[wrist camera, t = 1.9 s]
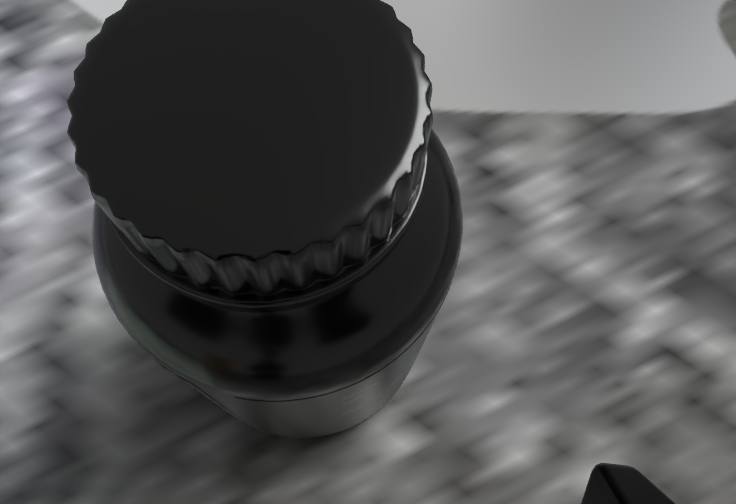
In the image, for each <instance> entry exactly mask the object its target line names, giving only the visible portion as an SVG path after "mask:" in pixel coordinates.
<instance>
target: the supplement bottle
mask: <svg viewBox="0 0 736 504" xmlns="http://www.w3.org/2000/svg"><path fill="white" fill-rule="evenodd" d="M424 70H425V57H424V54H423V53H422V52H421V51H420V50H419V49H418V48H417V46H416V45H415V44H414V43H413V37H412V33H411V29H410V28H409V27H407V26H406V25H405V24H403V23H402V22H401V21H399V20H398V19H397V17H396V14H395V11H394V9H393V7H392V6H390V5H388V4H387V3H384V2H382V1H380V0H127V1H126V2H125V4H124V6H123V7H122V9H121V10H119V11H118V12H116V13H115V14H112V15H111V16H109V17H108V18H106V19H105V22H104V24H103V26H102V29H101V32H100V33H99V34H98V35H96V36H95V37H94V38H93V39H92V40H91V41H90V42H88V43H87V46H86V55H85V58H84V60H83V61H82V62H81V63H80V64H79V66H78V67H77V68H76V69H75V71H74V80H75V87H74V89H73V91H72V93H71V94H70V96H69V99H68V101H67V104H68V107H69V110H70V112H71V115H72V117H71V120H70V123H69V127H68V132H67V133H68V136H69V138H70V140H71V142H72V143H73V145H74V146H75V148H76V152H75V164H76V166H77V169H78V171H79V172H80V173H81V175H82V176H83V177H84V178H85V180H86V181H87V182H88V183H89V186H90V190H91V194H92V196H93V198H94V200H95V203H94V210H93V219H92V243H93V254H94V259H95V264H96V269H97V273H98V276H99V279H100V282H101V285H102V288H103V291H104V293H105V295H106V298H107V300H108V302H109V304H110V306H111V308H112V310H113V311H114V313H115V315H116V316H117V318H118V320H119V321H120V322H121V324H122V325H123V326H124V328H125V329H126V330H127V332H128V333H129V334H130V335H131V337H132V338H133V339H134V340H135V341H136V342H137V343H138V344H139V345H140V346H141V347H142V348H143V349H144V350H145V351H146V352H147V353H148V354H149V355H150V356H151V357H152V358H154V359H155V360H156V361H157V362H158V363H159V364H161V365H162V366H163V367H164V368H166V369H167V370H168V371H170V372H171V373H173V374H174V375H175V376H177V377H178V378H180V379H181V380H182V381H184V382H185V383H187V384H188V385H189V386H191V387H192V388H194V389H195V390H196V391H198V392H199V393H201V394H202V395H204V396H205V397H206V398H208V399H209V400H211V401H212V402H213V403H215V404H216V405H218V406H219V407H220V408H222V409H223V410H225V411H226V412H228V413H229V414H230V415H232V416H233V417H235V418H236V419H238V420H240V421H242V422H243V423H245V424H247V425H249V426H251V427H253V428H255V429H258V430H260V431H263V432H266V433H269V434H273V435H277V436H283V437H290V438H314V437H321V436H327V435H331V434H335V433H338V432H341V431H344V430H347V429H349V428H351V427H353V426H355V425H357V424H359V423H361V422H362V421H364V420H366V419H368V418H369V417H370V416H372V415H373V414H374V413H376V412H377V411H378V410H379V409H381V408H382V407H383V406H384V405H385V404H386V403H387V402H388V401H389V400H390V399H391V398H392V397H393V395H394V394H395V393H396V392H397V390H398V389H399V388H400V386H401V385H402V383H403V381H404V380H405V378H406V377H407V375H408V373H409V372H410V370H411V368H412V366H413V364H414V362H415V360H416V357H417V355H418V353H419V351H420V349H421V347H422V345H423V343H424V341H425V339H426V337H427V335H428V333H429V331H430V329H431V327H432V324H433V322H434V320H435V318H436V316H437V314H438V312H439V310H440V308H441V306H442V304H443V301H444V299H445V297H446V295H447V293H448V291H449V288H450V285H451V282H452V279H453V277H454V274H455V270H456V266H457V262H458V258H459V253H460V249H461V241H462V233H463V214H462V203H461V196H460V191H459V186H458V181H457V178H456V175H455V172H454V169H453V166H452V164H451V161H450V159H449V157H448V154H447V152H446V150H445V148H444V147H443V145H442V143H441V141H440V140H439V138H438V136H437V135H436V133H435V132H434V130H433V129H432V124H433V115H432V111H431V107H430V101H431V96H432V84H431V82H430V80H429V78H428V76H427V75H426V73H425V71H424Z"/></svg>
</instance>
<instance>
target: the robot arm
mask: <svg viewBox="0 0 736 504" xmlns="http://www.w3.org/2000/svg"><path fill="white" fill-rule="evenodd" d="M581 504H675V503H674V502H673V501H672V500H671V499H670V498H668V497H667V496H666V495H665V494H664V493H663V492H662V491H661V490H659V489H658V488H657V487H656V486H655V485H654V484H653V483H651V482H650V481H649V480H648V479H647V478H646V477H645V476H644V475H642V474H641V473H640V472H639V471H638V470H636V469H635V468H633V467H631V466H626V465H617V464H608V463H600V464H598V465H596V466H595V467H594V468H593V470H592V472H591V475H590V478H589V481H588V484H587V487H586V490H585V494H584V497H583V500H582V503H581Z"/></svg>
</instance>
